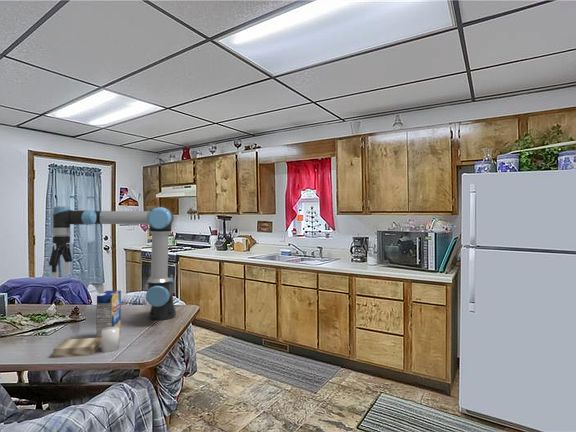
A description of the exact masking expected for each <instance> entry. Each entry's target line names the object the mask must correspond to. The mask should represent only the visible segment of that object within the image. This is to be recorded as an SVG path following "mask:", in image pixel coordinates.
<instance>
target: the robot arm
mask: <svg viewBox="0 0 576 432" xmlns="http://www.w3.org/2000/svg"><path fill="white" fill-rule="evenodd" d="M52 211H53V212H52V230H51V231H52V235H53V236H52V243H53V244H55V245H53V246H52V248H51V250H52V251H51V254H50V258H49V263H48V266H49V267H50V266H51V276H50V277H51V278H50V279H59V265H58V264H59V261H60V258H61V256H62V258H63V260H64V261H63V275H71V263H72V262H73V257H72V252H71V248H70V247H71V246H70V245H71V244H70V243H71V225H82V226H83V225H87V226H90V225H148V226H149V227H148V232H149V233H150V234H151V260H150V261H151V265H150V266H151V267H150V278H149V279H148V280H147V291H146V294H145V299H146V301H147V303H148V305H150V306H151V307H150V310H149V313H148V319H149V320H152V321H164V320H170V319H174V318H175V317H176V316H177V310H176V308H175V305H174V278H172V277H169V276H168V275H169V274H168V273H169V271H168V270H169V234H171V233H172V227H173V226H172V225H173V222H174V218H175V217H174V214H173V212H172V211H171V210H170V209H168V208H167V207H161V206H160V207H155V208H153V209H149V210H143V211H142V210H141V211H140V210H139V211H138V210H130V211H129V210H123V211H121V210H118V211H117V210H91V209H90V210H85V209H84V210H74V209H73V210H72V209H71V206H57V205H56V206H54V207H53V209H52Z"/></svg>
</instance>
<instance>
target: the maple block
mask: <svg viewBox="0 0 576 432" xmlns="http://www.w3.org/2000/svg"><path fill="white" fill-rule="evenodd" d="M100 348H101V338H96V337H88V338H86V337H85V338H72V339H70V338H69V339H64V340H63V341H61V342H60V343H59V344H58V345H56V346H55V347H54V348H53V349H52V350H53V351H52V353H53V355H52V358H66V357H78V356H79V357H80V356H81V357H82V356H90V355H91V356H92V355H94V354H95V353H96V352H97V350H98V349H100Z"/></svg>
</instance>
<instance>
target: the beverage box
mask: <svg viewBox="0 0 576 432" xmlns="http://www.w3.org/2000/svg"><path fill="white" fill-rule="evenodd" d="M121 308H122V290H105V291H104V292H102V293H100V294H98V295H96V334H95V335H96V337H95V338H101V333H102V329H104V328H107V327H119V336H120V335H121V324H122V323H121V314H122V312H121Z"/></svg>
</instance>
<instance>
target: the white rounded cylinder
mask: <svg viewBox="0 0 576 432" xmlns="http://www.w3.org/2000/svg"><path fill="white" fill-rule="evenodd" d="M100 348H101V349H100V351H101V352H102V353H105V352H106V353H113V352H117V351H118V350H119V348H120V335H119V327H107V328H104V329H102V333H101V346H100Z"/></svg>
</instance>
